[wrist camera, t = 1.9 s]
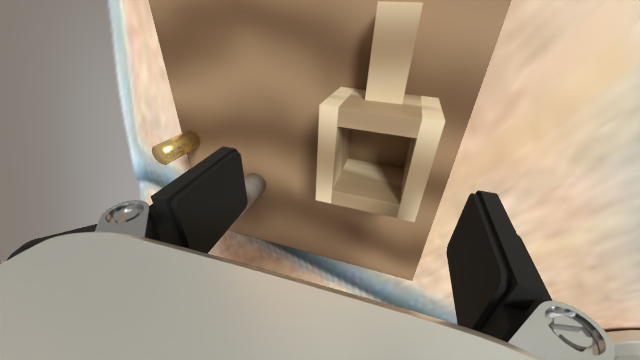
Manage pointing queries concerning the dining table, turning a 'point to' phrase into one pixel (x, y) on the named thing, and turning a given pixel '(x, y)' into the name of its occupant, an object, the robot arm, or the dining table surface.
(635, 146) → the dining table surface
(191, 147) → the dowel pin
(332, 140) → the square frame with tab
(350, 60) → the board
